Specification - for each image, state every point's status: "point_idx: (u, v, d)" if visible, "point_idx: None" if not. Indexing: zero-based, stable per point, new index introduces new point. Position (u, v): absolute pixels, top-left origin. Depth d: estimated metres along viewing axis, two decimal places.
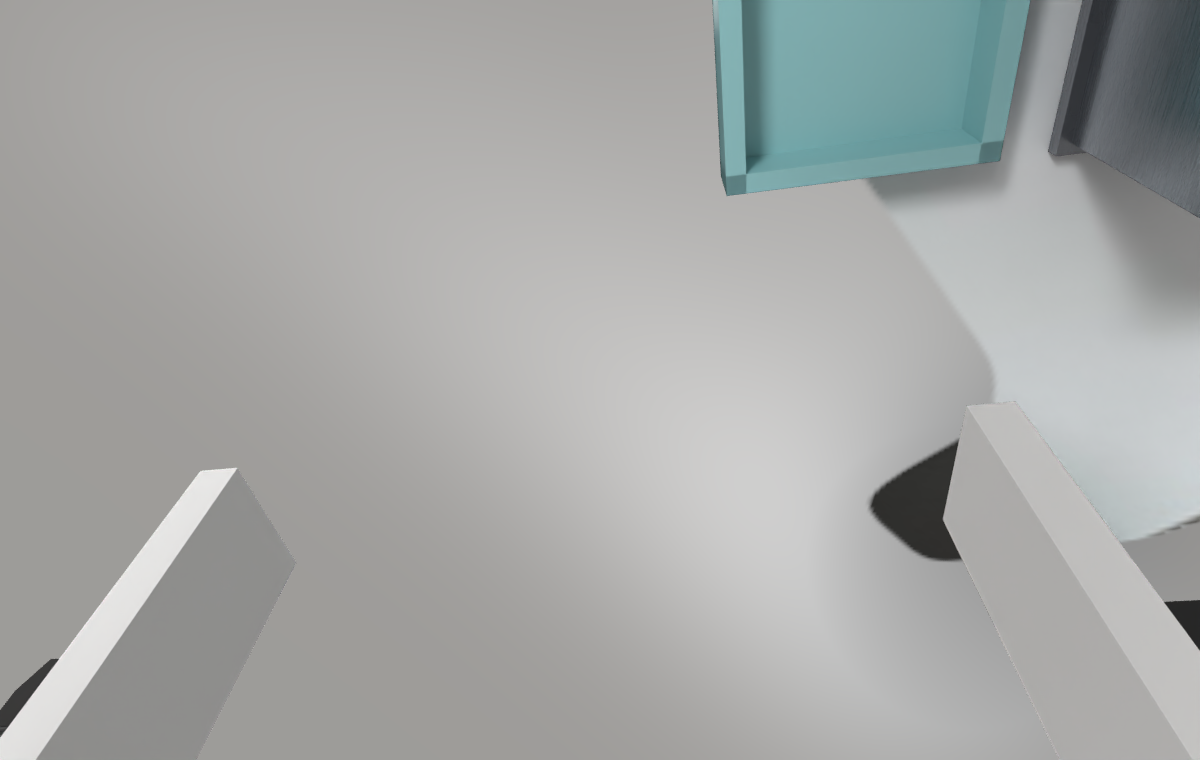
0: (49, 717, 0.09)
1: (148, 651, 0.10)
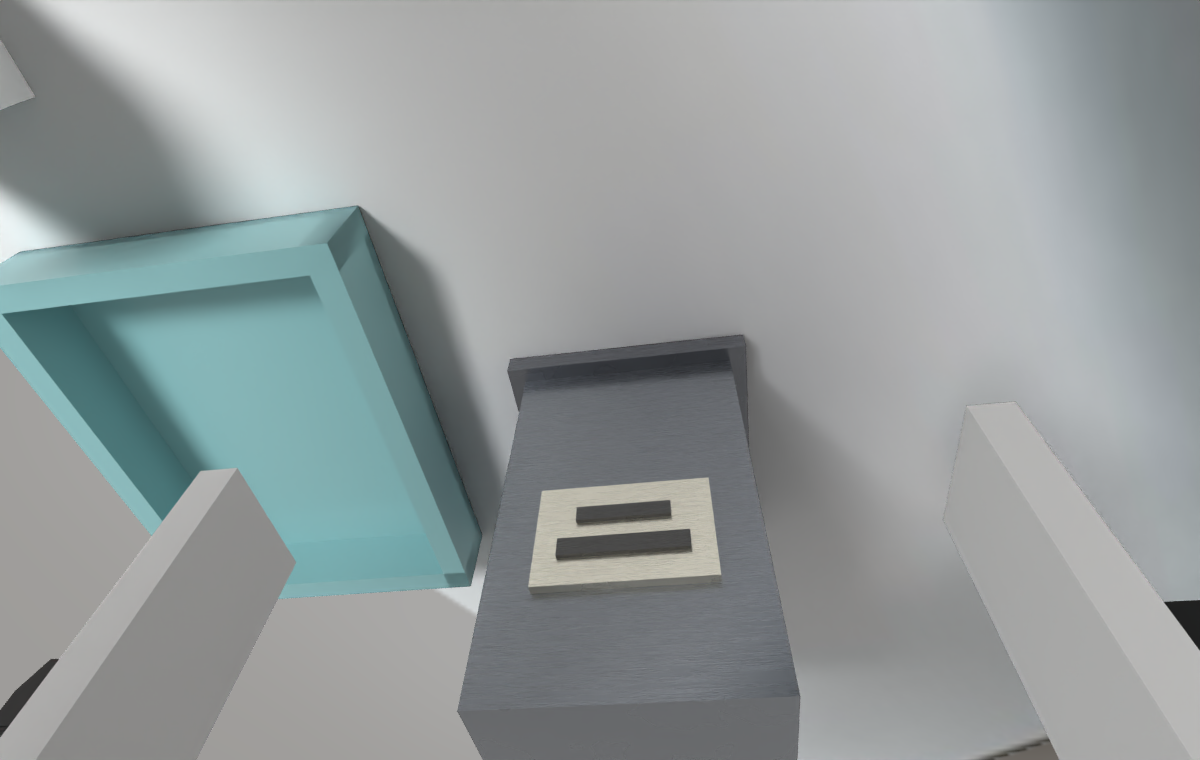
0: (49, 717, 0.09)
1: (148, 651, 0.10)
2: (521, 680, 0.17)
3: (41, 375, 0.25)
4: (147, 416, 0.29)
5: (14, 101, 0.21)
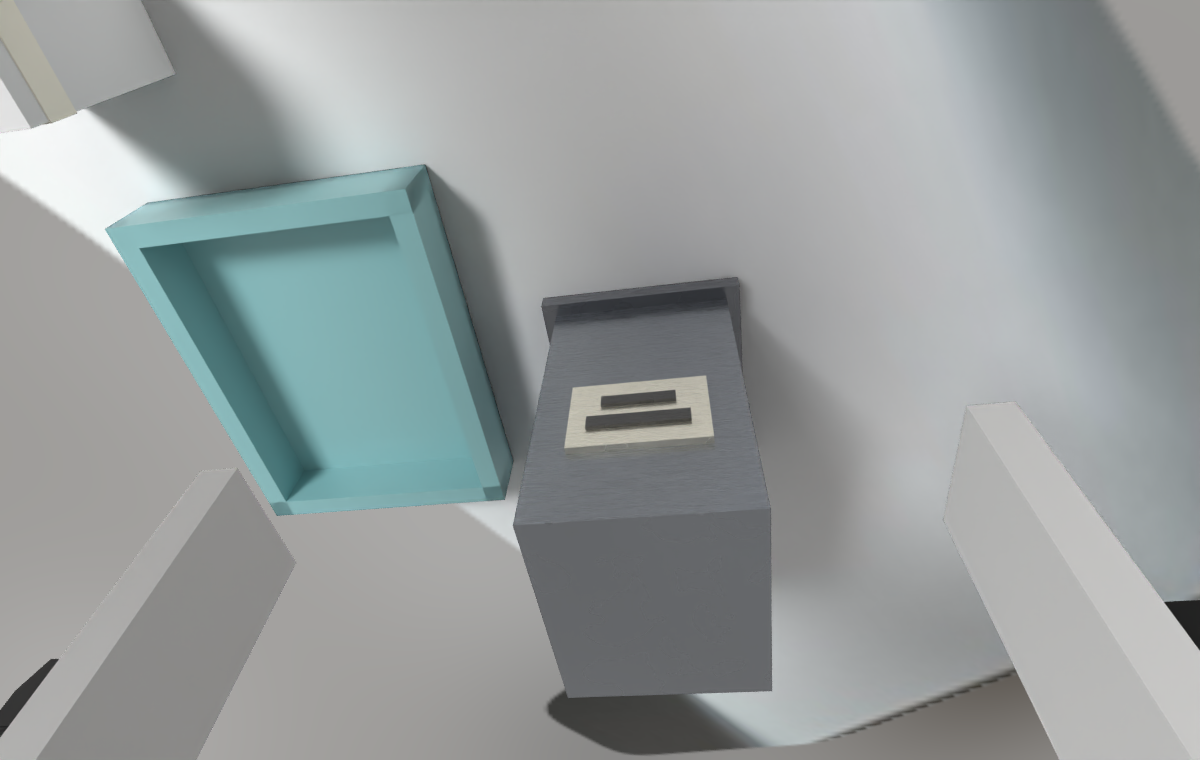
0: (49, 717, 0.09)
1: (148, 651, 0.10)
2: (560, 505, 0.22)
3: (164, 302, 0.30)
4: (237, 347, 0.35)
5: (162, 76, 0.27)
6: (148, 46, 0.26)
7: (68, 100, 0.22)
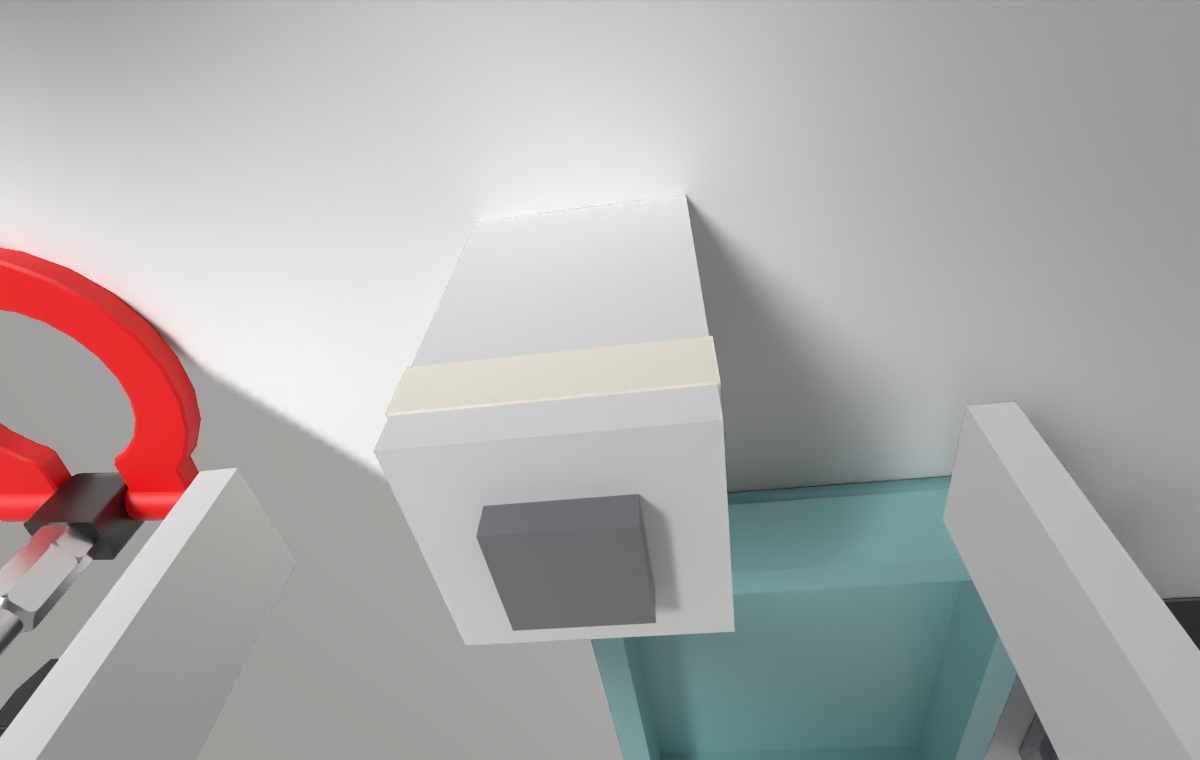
0: (49, 717, 0.09)
1: (147, 651, 0.10)
2: None
3: (616, 651, 0.22)
4: (639, 649, 0.26)
5: None
6: None
7: None
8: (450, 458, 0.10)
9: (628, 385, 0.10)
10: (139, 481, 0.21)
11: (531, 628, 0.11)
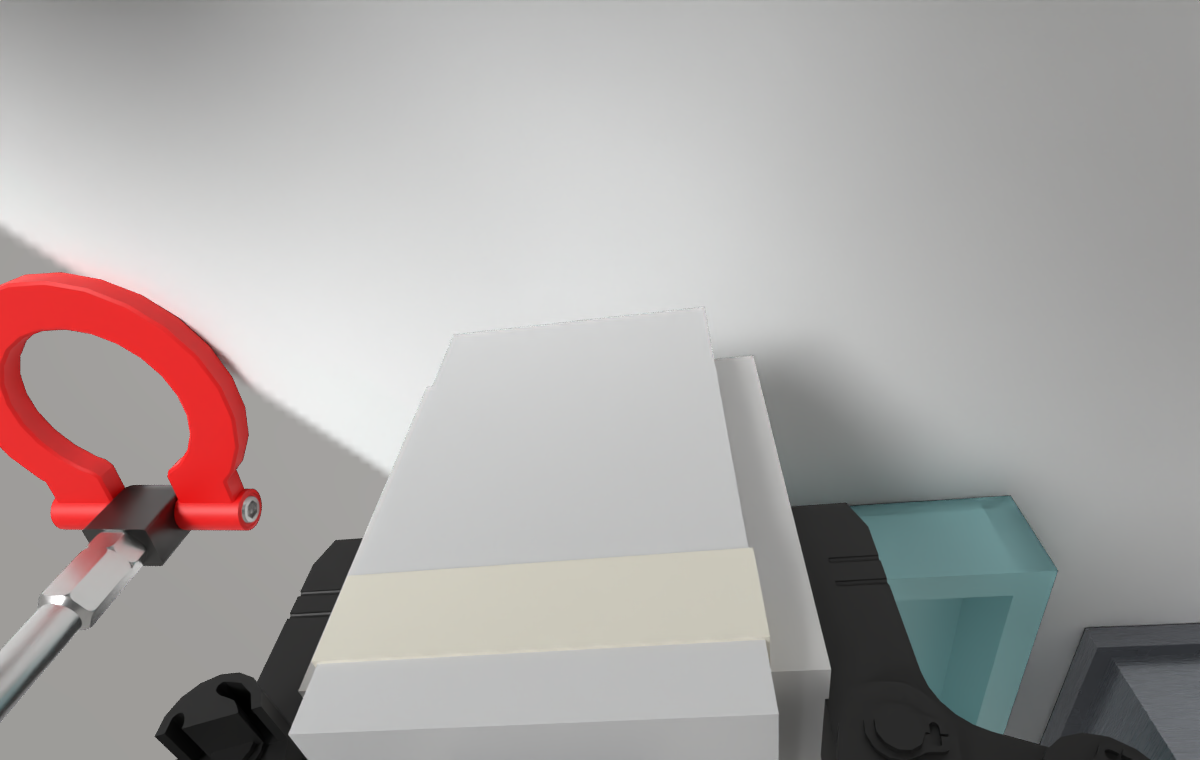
0: None
1: None
2: None
3: None
4: None
5: None
6: None
7: None
8: (394, 742, 0.07)
9: (641, 633, 0.07)
10: (189, 492, 0.22)
11: None
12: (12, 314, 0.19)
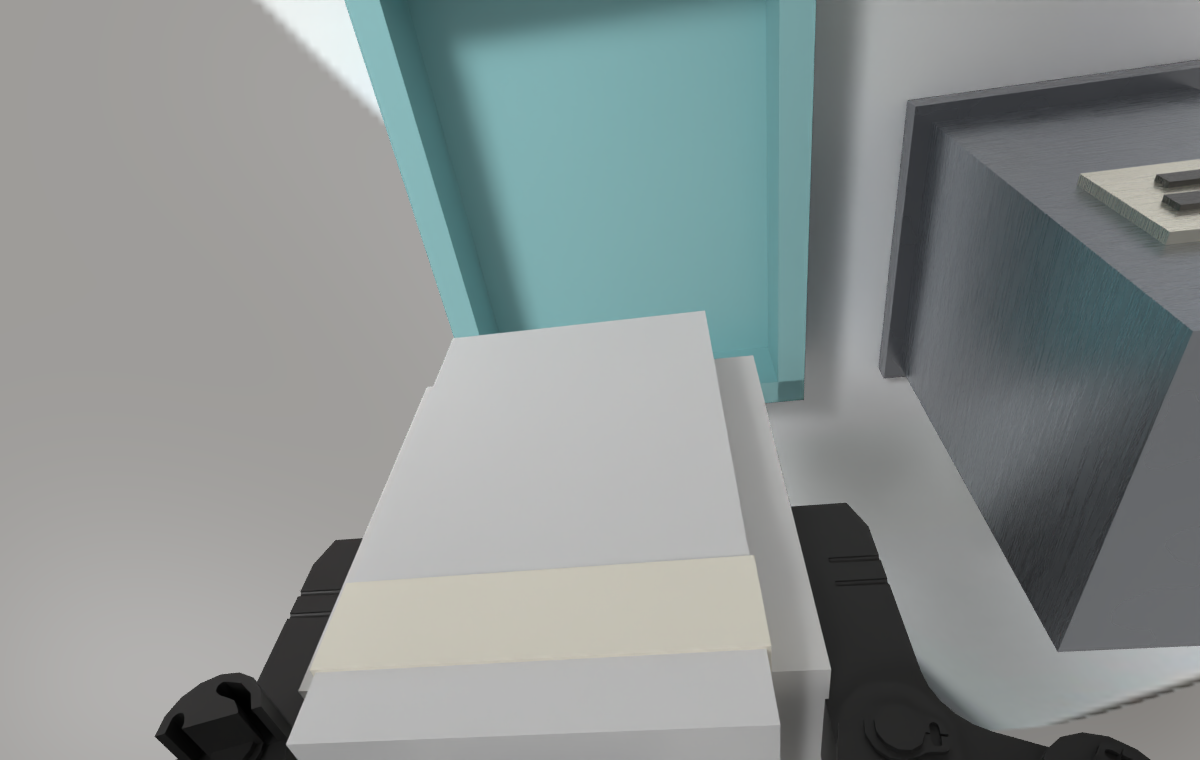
0: None
1: None
2: None
3: (395, 87, 0.21)
4: (457, 184, 0.25)
5: None
6: None
7: None
8: (392, 754, 0.07)
9: (642, 642, 0.07)
10: None
11: None
12: None
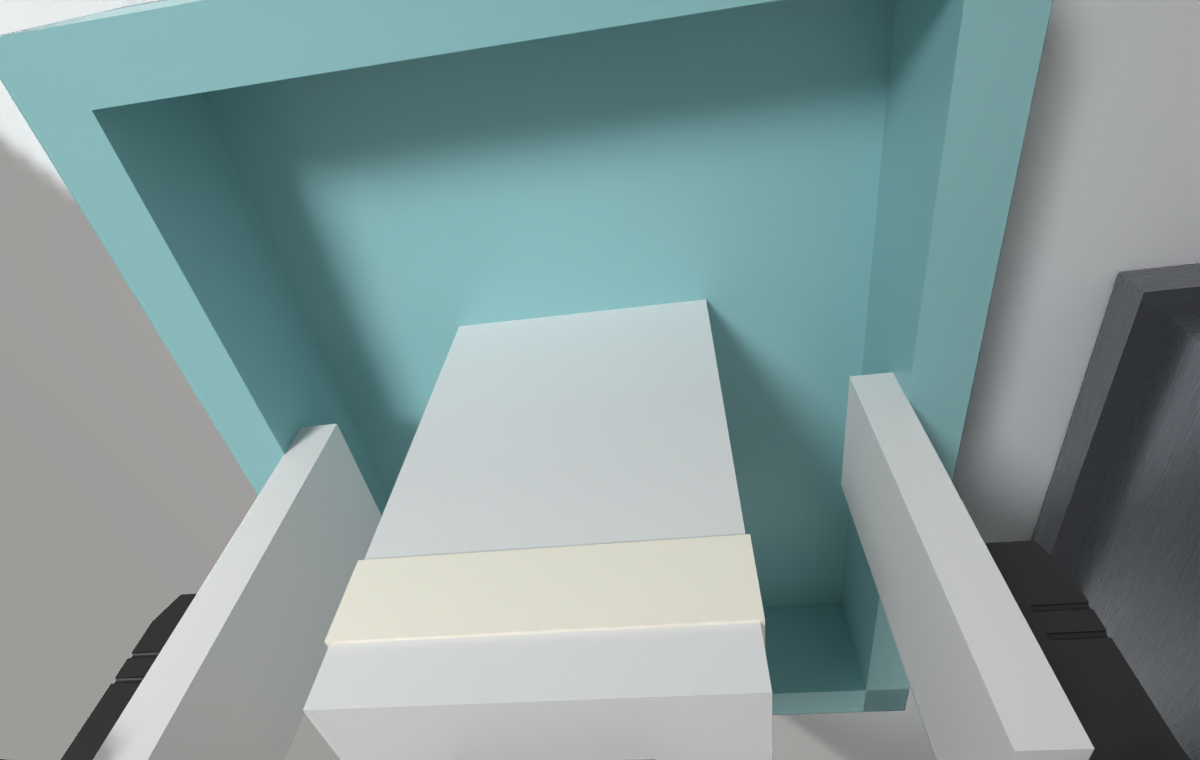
0: (201, 637, 0.10)
1: (275, 585, 0.11)
2: None
3: (170, 283, 0.11)
4: (338, 390, 0.15)
5: None
6: None
7: None
8: (404, 719, 0.07)
9: (641, 616, 0.08)
10: None
11: None
12: None
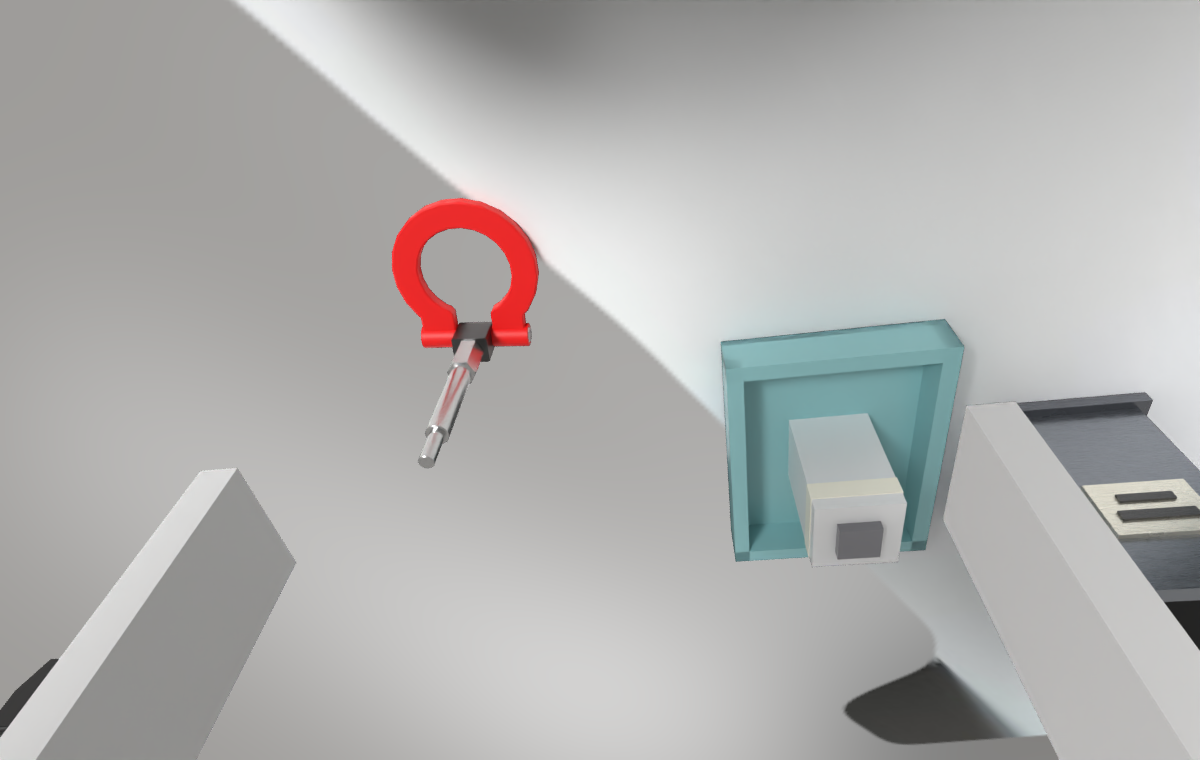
0: (49, 717, 0.09)
1: (148, 650, 0.10)
2: (1147, 578, 0.33)
3: (740, 416, 0.42)
4: None
5: None
6: None
7: None
8: (833, 511, 0.38)
9: (878, 492, 0.39)
10: (500, 322, 0.41)
11: (843, 558, 0.40)
12: (436, 220, 0.37)
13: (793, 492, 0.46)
